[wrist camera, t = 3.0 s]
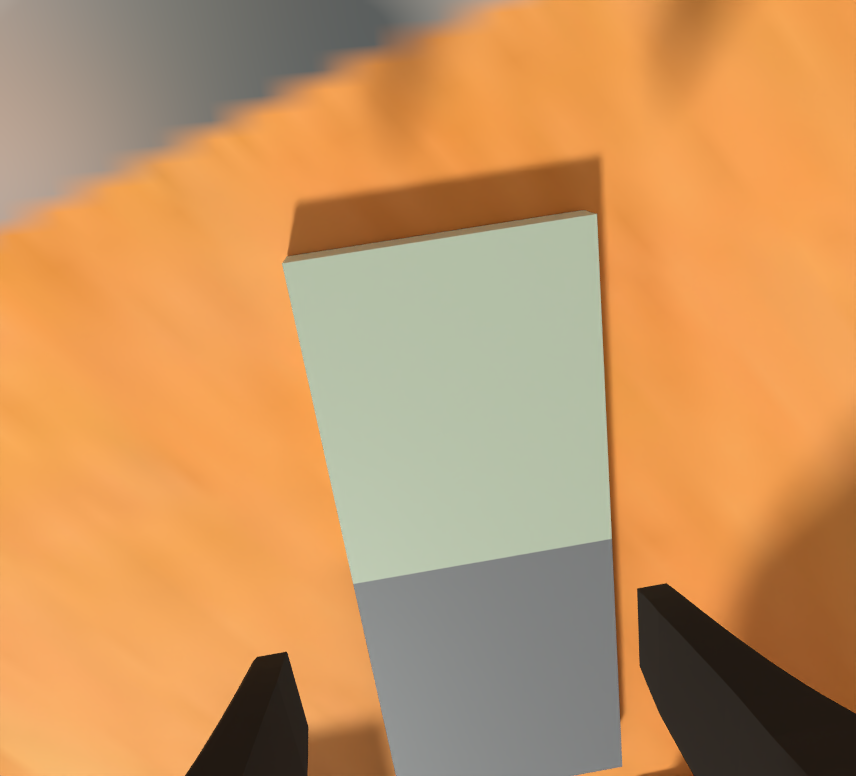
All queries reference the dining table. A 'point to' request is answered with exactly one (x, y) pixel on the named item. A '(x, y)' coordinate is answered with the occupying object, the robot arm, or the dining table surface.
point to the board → (473, 488)
